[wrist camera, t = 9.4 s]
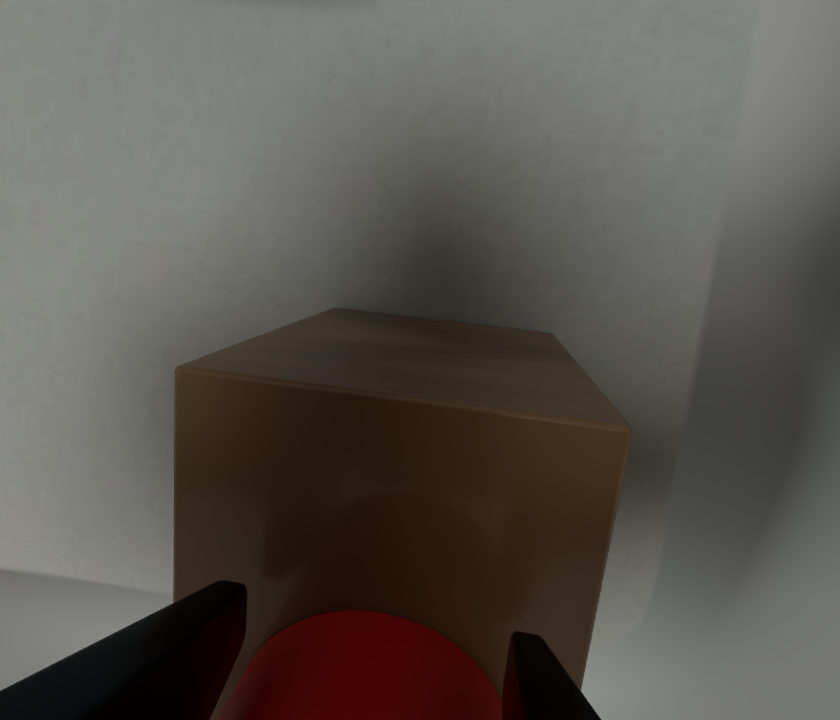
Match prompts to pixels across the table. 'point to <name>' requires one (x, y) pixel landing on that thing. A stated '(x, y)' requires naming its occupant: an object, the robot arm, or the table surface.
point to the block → (399, 481)
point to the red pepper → (361, 674)
